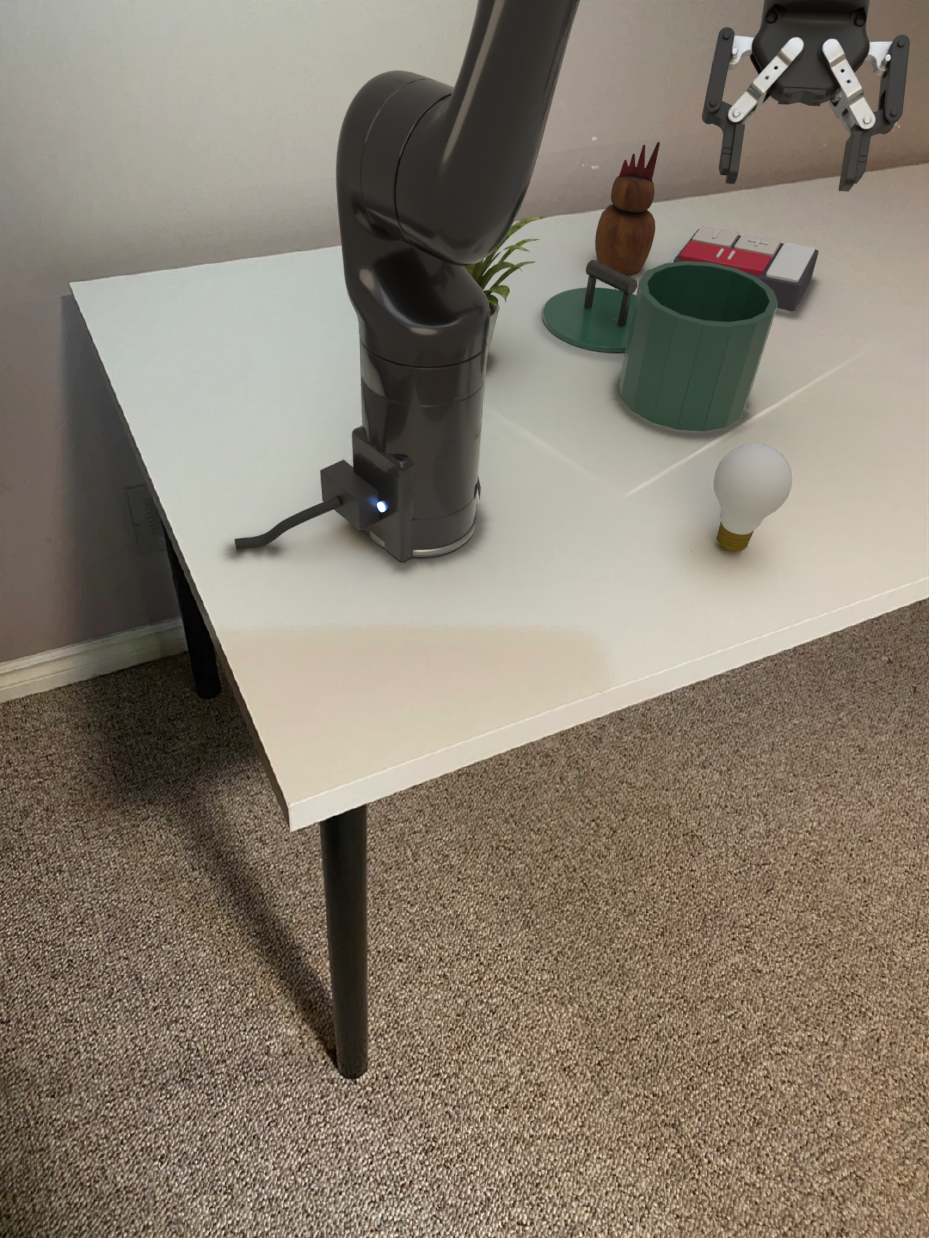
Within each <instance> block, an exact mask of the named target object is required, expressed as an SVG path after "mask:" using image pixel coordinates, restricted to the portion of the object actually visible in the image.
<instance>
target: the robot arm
mask: <svg viewBox="0 0 929 1238" xmlns="http://www.w3.org/2000/svg"><path fill="white" fill-rule="evenodd" d="M870 2H871V0H763V5H762V13H761V20H760V26H759V29H758V32H757V33H756V34H755V36H746V35H737V34H735V30H734V29H733V28H731V26H730V27H729V26H724V27H723V28H721V29H720V30H719V32H718V35H717V38H716V43H715V47H714V52H713V56H712V62H711V66H710V72H709V77H708V82H707V87H706V92H705V98H704V103H703V108H702V113H701V120H702V122H703V123H704V124H705V125H714V126H716V127H718V128H719V129H720V130H721V132H722V141H721V149H720V154H719V164H718V171H719V175H720V176H725V184H726V185H727V184H728V185H735V184H736V182H737V179H738V176H739V172H740V171H739V170H740V163H741V157H742V151H743V150H742V149H743V143H744V135H745V130H746V129H745V127H746V123H747V122H749V120H750V118H752V116H754V115H755V114H756V113H758V111H759V110H760V109H761V108H762V107H763V106H764V105H765V104H766V103H767V102H768V101H769V100H770V98H771V99H773V100H774V101H777V105H786V106H788V105H794V104H798V103H799V104H802V105H806V106H808V107H820V106H821V104H824V103H828V105H829V107H830V108H831V110H832V112H833V114H834V116H835V117H836V118H837V119H839V120H840V121H841V122H842V124H843V127H844V128H845V130H846V131H847V134H848V136H849V137H848V138H847V140H846V141H845V146H844V152H843V158H842V165H841V171H840V176H839V183H838V192H847V193H848V192H850V190H851V189H852V188H853V187H854V185H857V184H858V183H859V181H861V179H862V178H863V176H864V174H865V172H866V169H867V163H868V159H869V158H868V156H869V151H870V144H871V138H872V137H873V136H876V135H887V134H888V133H890V132H891V131H892V129H893V128H894V126H895V125H896V124H897V122H899V120H900V119H901V118H902V116H903V114H904V105H905V104H904V102H905V95H906V94H905V93H906V85H907V76H908V75H907V74H908V65H909V55H910V46H911V45H910V43H911V41H910V38H909V37H908V35H907V34H898V35H896V36H895V38H893V40H891V41H890V40H889V41H870V39H869V36H868V34H867V20H868V15H869V8H870ZM580 3H581V0H477V4H476V9H475V14H474V18H473V23H472V27H471V30H470V34H469V39H468V42H467V45H466V49H465V52H464V55H463V60H462V63H461V65H460V69H459V72H458V75H457V78H456V81H455V84H454V86H452V85H449V84H447V83H444V82H441V81H439V80H436V79H433V78H431V77H428V76H426V75H422V74H419V73H416V72H414V71H413V72H412V71H408V70H398V69H396V70H395V69H394V70H388V71H384V72H381V73H379V74H377V75H375V76H373V77H372V78H371V79H369V80H368V81H366V83H364V84H363V85H362V86H361V87H360V89H359V90H358V91H357V92H356V94H355V95H354V97H353V98H352V100H351V101H350V104H349V105H348V108H347V109H346V111H345V115H344V117H343V120H342V123H341V127H340V130H339V135H338V141H337V147H336V156H335V157H336V159H335V189H336V191H335V192H336V203H337V213H338V214H337V215H338V225H339V234H340V235H339V236H340V246H341V256H342V265H343V266H342V267H343V277H344V283H345V289H346V293H347V296H348V299H349V301H350V303H351V306H352V308H353V310H354V312H355V314H356V317H357V322H358V323H357V324H358V336H359V337H358V339H359V341H358V342H359V363H360V364H359V365H360V368H359V369H360V370H359V371H360V403H361V405H360V406H361V407H360V408H361V425H360V426H358V427H356V428H354V429H353V430H352V431H351V450H352V453H351V454H352V465H351V464H350V463H349V462H347V461H346V460H345V459H341V460H339V461H337V462H335V463H333V464H330V465H329V466H326V467H324V468H322V469H320V470H319V475H320V477H319V478H320V488H321V500H322V502H320V503H318V504H315V505H313V506H310V507H308V508H306V509H303V510H301V511H299V512H297V513H295V514H293V515H291V516H289V517H287V518H284V519H283V520H281V521H280V522H279V523H277V524H276V525H274V526H273V527H272V528H271V529H269V530H268V531H266V532H265V533H262V534H259V535H255V536H248V537H237V538H234V545H235V550H244V549H253V548H255V549H256V548H259V547H263V546H266V545H268V544H270V543H272V542H274V541H275V540H277V539H278V538H279V537H280V536H282V535H283V534H285V533H286V532H287V531H289V530H291V529H293V528H295V527H297V526H299V525H301V524H303V523H306V522H307V521H310V520H312V519H314V518H317V517H319V516H321V515H324V514H326V513H327V514H328V513H329V512H331V511H334V512H336V513H337V514H338V515H339V516H341V517H342V519H344V520H345V521H346V522H348V523H349V524H350V525H351V526H353V528H355V529H356V530H358V531H359V532H361V531H362V532H364V534H366V535H367V536H369V537H370V538H371V540H373V541H374V543H376V544H377V545H379V546H380V547H382V548H383V549H384V550H386V551H387V553H389V554H390V555H392V556H393V557H394V558H395V559H396V560H398V561H399V562H405V561H407V560H409V559H411V558H416V557H417V558H429V557H437V556H441V555H446V554H448V553H450V552H453V551H455V550H457V549H458V548H460V547H462V546H463V545H464V544H466V543H467V542H468V541H469V540H470V538H471V537H472V536H473V534H474V532H475V531H476V530H475V529H476V525H477V511H476V509H477V507H476V506H477V497H478V500H479V501H481V491H482V487H481V482H480V476H479V466H480V454H481V440H482V430H483V429H482V426H483V415H484V414H483V413H484V402H485V399H484V398H485V388H486V387H485V386H486V376H487V375H486V374H487V362H488V356H487V351H488V338H489V325H490V308H489V303H488V299H487V297H486V295H485V293H484V291H485V290H482V288H481V287H480V286H479V284H478V283H477V282H476V281H475V280H474V278H473V277H472V276H471V275H470V274H469V272H468V271H467V270H466V268H465V267H464V266H469V265H472V264H475V263H478V262H480V261H482V260H483V259H484V260H485V259H486V257H487V256H489V255H490V254H491V253H492V252H493V251H494V250H495V249H496V248H497V247H498V246H499V244H500V243H501V242H502V241H503V239H504V238H505V236H506V235H507V233H508V231H509V230H510V228H511V226H513V225H514V224H515V222H516V219H517V216H518V215H519V213H520V211H521V208H522V205H523V203H524V201H525V198H526V195H527V192H528V189H529V186H530V183H531V180H532V177H533V174H534V170H535V168H536V164H537V159H538V156H539V152H540V149H541V146H542V141H543V138H544V135H545V131H546V127H547V123H548V119H549V115H550V111H551V107H552V105H553V100H554V96H555V93H556V88H557V85H558V80H559V77H560V74H561V71H562V70H561V69H562V66H563V62H564V58H565V55H566V50H567V46H568V43H569V40H570V35H571V32H572V29H573V24H574V21H575V19H576V16H577V12H578V9H579V5H580ZM747 56H748V57H749V60H750V62H751V64H752V66H753V67H754V69H755V72H757V76H756V77H755V78H754V79H753V80H752V82H751V83H750V85H749V86H748V87H747V89H746V90H745V91H744V92H743V93H742V94H741V96H740V97H739V98H738V99H737V100H736V102H734V103H733V104H731V103H728V102H726V101H723V99H724V98H723V97H724V92H725V86H726V83H727V77H728V73H729V71H733V70H735V69H737V68H738V66H739V65H740V62H741V60H742V59H743V58H745V57H747ZM865 62H868V63H870V64H871V66H872V72H873V74H874V75H875V76H876V77H879V78H880V82H879V93H878V102H877V110H875V111H873V109H872V107H870V106H871V105H870V104H869V102H868V101H867V99H866V97H865V93H864V89H863V86H862V84H861V82H860V80H859V79H858V77H857V75H856V74H855V73H856V72H857V71H858V70H859V69H860V68H861V67H862V65H863V64H864V63H865Z"/></svg>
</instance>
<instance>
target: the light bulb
mask: <svg viewBox="0 0 929 1238" xmlns="http://www.w3.org/2000/svg"><path fill="white" fill-rule="evenodd" d="M792 485H793V473H792V469H791V466H790V463H789V461H788V459H786V456H784V454H782V453H781V452H780V450H778V449H777V448H775V447H773V446H771V445H769V444H765V443H760V442H749V443H744V444H741V445H739V446H735V447H734V448H733V449H731V450H730V451H728V452H727V453H726V454H725V455H724V456H723V457H722V458H721V459H720V461H719V462H718V465H717V467H716V468H715V472H714V477H713V490H714V494H715V497H716V499H717V502H718V504H719V508H720V510H719V511H720V512H719V519H720V522H719V526H718V530H717V534H716V542H717V544H718V545H719V546H720V547H721V548H723V549H724V550H726V551H728V552H742V551H744V550H746V548H748V546H749V545H748V544H750V541H751V539H752V536H753V534H754V532H755V530H757V529H758V528H759V526H760V525H761V523H762V522H763V521H764V520H765V518H767V517H769V516H771V515H772V514H774V513H775V512H776V511H778V510H779V509H780V508H781V507H782V506H783V505H784V503H786V501H787V499H788V498H789V496H790V493H791V490H792V487H793V486H792Z"/></svg>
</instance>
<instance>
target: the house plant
mask: <svg viewBox="0 0 929 1238" xmlns="http://www.w3.org/2000/svg"><path fill="white" fill-rule="evenodd" d="M545 218H547V216H532V217H528V218H524V219H522V220H520V221H517V222H515V223H513V225H512V226H511V228H510V230H509V231H508V233H507V235H506V236H505V238H504V239H503V241H502V242H501V243H500V244H499V246H498V247H497V248H496V249H495V250H494V251H493V252H492V253H491V254H490V255H489V256H487V257H486V258H485V259H483V260H482V261H480V262H478V263H475V264H472V265H469V266H464V267H465V268H466V270H467V271H468V272H469V274H470V275H471V276H472V277H473V278H474V280H475V281H476V282H477V283H478V284H479V286H480V287H481V288H482V290H483V291H484V293H485V295H486V297H487V299H488V303H489V308H490V325H489V338H488V351H487V357H488V355H489V352H490V348H491V343H492V340H493V335H494V331H495V327H496V324H497V321H498V320H497V319H498V316H499V312H500V304H499V299H498V297H497V296H496V295H494V294H497V295H500V296H501V297H502V298H503V299H504V303H505V304H506V303H507V298H508V297H509V295H510V291H511V289H510V287H509V286H508V285H505V284H502V283H503V282H504V281H505V280H506V279H507V278H508V277H509V276H510V275H511V274H513V273H514V272H516V271H517V270H520V272H523V271H522V267H524V266H526V265H531V264H534V263H536V261H532V260H531V261H530V260H529V261H521V262H519V263H516V264H514V263H512V262H509V261H506V260H507V258H509V256H511V254H512V253H513V252H515V251H516V250H519V251H523V252H529V253H531V252H530V250H529V249H527V248H525V247H523V246H524V245H525V244H527V243H529V242H537V241H540V240H541V239H539V238H526V239H522V240H520V241H518V242H516V243H515V244H511V245H508V246H507V247H504V248H503V250H501V251H499V250H500V249H501V247H502V246H503V245H504V244H505V242H507V240H509V239H510V237H512V236H513V235H514V234H516V232H518V231H519V230H521V229H522V228H524V227H525V226H527V225H528V224H530V223H531V222H536V221H540V220H543V219H545ZM498 251H499V252H498ZM503 251H506V252H505V253H504V254H503V255H502V256H501V258H500V259H499V260H498V262H497V263H496V264H494V265H493V266H491V265H492V264H493V262H494V261H495V260H496V259H497V258H498V256H500V254H501V253H502V252H503ZM497 252H498V253H497ZM490 266H491V267H490ZM489 267H490V268H489ZM505 269H507V270H506V271H505V272H503V273H502V274H501V275H500V277H499V278H498V279H496V281H495V282H493V284H492V285H491V287H490V288H489V289H486V290H485V288H486V287H487V285H488V284H489V283H490V281H491V279H492V278H493V277H494V276H495V275H496V274H497V273H499V272H500V271H502V270H505ZM492 293H494V294H492Z"/></svg>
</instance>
